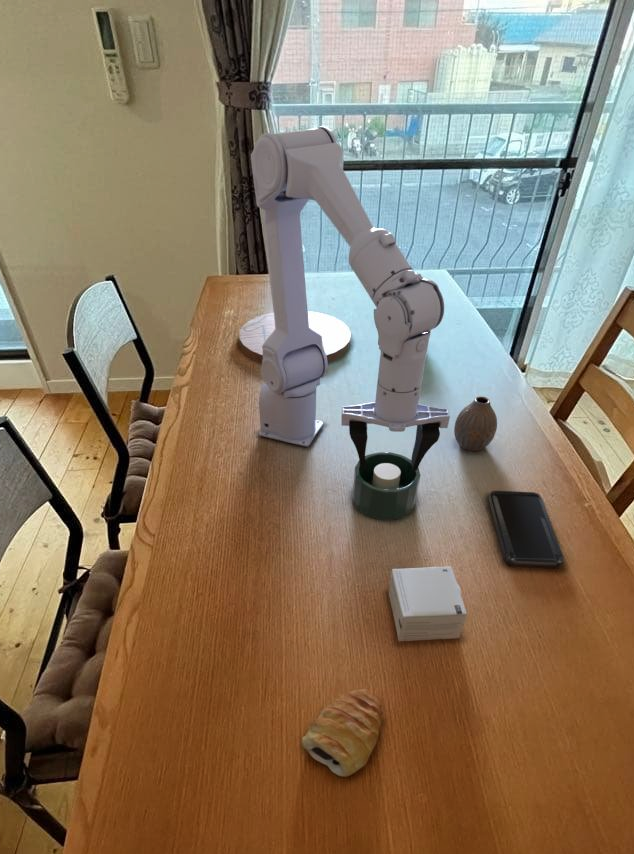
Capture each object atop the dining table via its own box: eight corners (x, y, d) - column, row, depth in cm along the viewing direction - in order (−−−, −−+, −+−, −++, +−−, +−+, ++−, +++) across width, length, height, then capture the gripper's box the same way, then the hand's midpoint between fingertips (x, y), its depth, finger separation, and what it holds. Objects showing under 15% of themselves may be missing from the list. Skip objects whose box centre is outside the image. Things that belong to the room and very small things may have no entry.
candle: (367, 501, 85) (370, 475, 82) (375, 486, 88) (378, 460, 84) (392, 507, 84) (396, 482, 81) (399, 492, 87) (403, 466, 83)
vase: (491, 458, 94) (505, 413, 88) (450, 453, 95) (460, 408, 89) (490, 435, 99) (503, 391, 93) (451, 431, 100) (461, 387, 94)
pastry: (344, 685, 63) (347, 666, 60) (397, 717, 61) (401, 699, 58) (297, 750, 58) (297, 733, 55) (352, 788, 55) (354, 773, 52)
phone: (507, 560, 75) (489, 490, 86) (505, 566, 76) (487, 495, 87) (566, 563, 75) (540, 492, 86) (563, 568, 76) (538, 497, 87)
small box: (386, 593, 73) (391, 567, 69) (445, 590, 73) (453, 564, 70) (397, 642, 67) (402, 617, 64) (460, 640, 68) (469, 614, 64)
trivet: (249, 374, 114) (248, 365, 113) (232, 323, 131) (231, 315, 130) (364, 361, 118) (365, 352, 117) (333, 313, 136) (334, 306, 134)
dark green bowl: (344, 510, 84) (346, 482, 81) (363, 474, 91) (366, 446, 87) (405, 526, 82) (410, 498, 78) (421, 488, 88) (426, 460, 84)
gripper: (344, 396, 69) (339, 481, 79) (460, 399, 69) (441, 483, 79) (343, 368, 74) (338, 451, 84) (451, 371, 74) (434, 454, 84)
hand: (388, 465), depth 82 cm, fingers open, 7 cm apart
